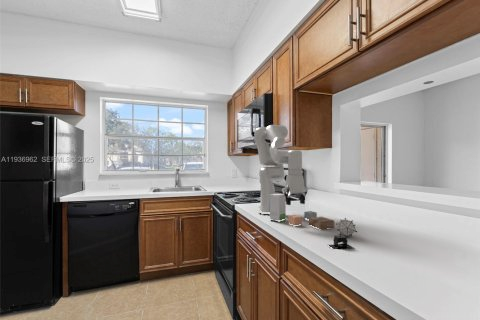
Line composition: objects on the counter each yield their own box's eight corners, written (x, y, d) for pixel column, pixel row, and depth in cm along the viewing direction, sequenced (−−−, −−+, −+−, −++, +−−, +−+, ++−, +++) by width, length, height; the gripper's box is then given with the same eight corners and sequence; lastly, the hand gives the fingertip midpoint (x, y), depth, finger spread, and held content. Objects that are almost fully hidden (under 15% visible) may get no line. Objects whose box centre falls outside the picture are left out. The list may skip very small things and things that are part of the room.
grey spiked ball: (344, 245, 103) (332, 228, 102) (341, 233, 111) (330, 217, 110) (363, 238, 99) (351, 220, 98) (359, 226, 107) (348, 210, 106)
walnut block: (308, 226, 123) (308, 218, 123) (321, 224, 126) (321, 216, 127) (320, 230, 115) (320, 221, 115) (334, 229, 118) (334, 220, 118)
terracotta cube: (288, 224, 125) (288, 215, 125) (295, 223, 127) (295, 214, 128) (294, 227, 121) (294, 217, 121) (301, 225, 123) (301, 216, 123)
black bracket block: (349, 244, 95) (349, 233, 95) (361, 251, 88) (361, 239, 88) (321, 245, 94) (321, 234, 94) (330, 252, 86) (330, 240, 86)
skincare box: (279, 222, 130) (279, 195, 130) (269, 220, 134) (269, 194, 134) (286, 220, 136) (286, 193, 137) (276, 218, 140) (276, 193, 141)
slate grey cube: (304, 220, 137) (304, 211, 137) (310, 219, 139) (310, 211, 139) (310, 221, 132) (310, 213, 133) (316, 221, 135) (316, 212, 135)
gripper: (302, 172, 132) (303, 202, 131) (278, 172, 124) (278, 204, 123) (311, 172, 125) (312, 204, 124) (286, 172, 118) (287, 206, 117)
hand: (295, 204), depth 124 cm, fingers open, 9 cm apart
